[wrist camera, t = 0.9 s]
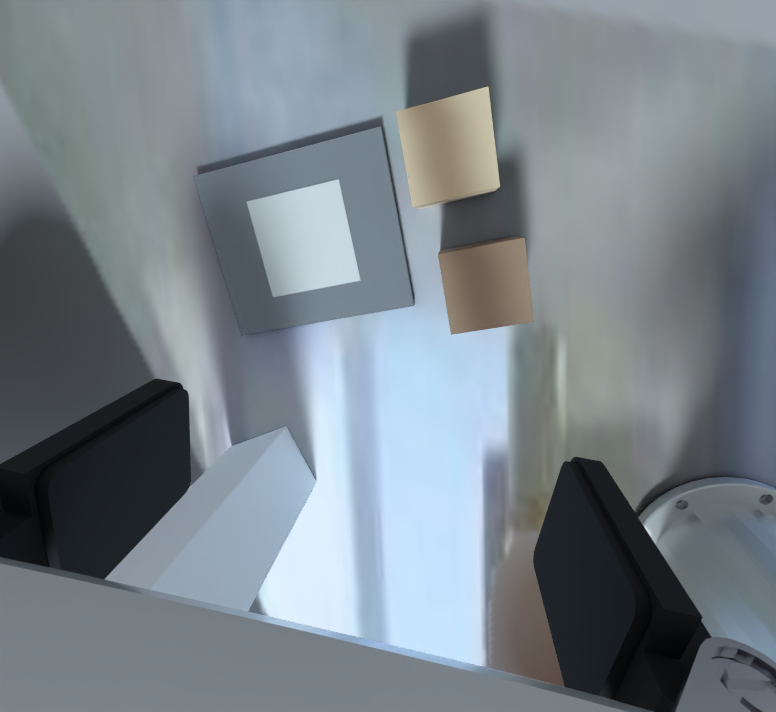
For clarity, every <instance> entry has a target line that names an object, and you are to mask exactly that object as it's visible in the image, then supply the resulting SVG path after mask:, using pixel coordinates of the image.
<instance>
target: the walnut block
mask: <svg viewBox="0 0 776 712" xmlns="http://www.w3.org/2000/svg"><path fill="white" fill-rule="evenodd" d="M438 257H439V263H440V269H441V275H442V281H443V287H444V294H445V300H446V306H447V312H448V318H449V325H450V331H451V335H452V334H458V333H464V332H471V331H477V330H484V329H490V328H497V327H503V326H509V325H516V324H522V323H529V322H534V321H533V311H532V302H531V292H530V283H529V273H528V263H527V254H526V244H525V237H518V236H509V237H504V238H499V239H494V240H489V241H484V242H479V243H473V244H468V245H463V246H458V247H453V248H448V249H443V250H440V252H439V254H438Z"/></svg>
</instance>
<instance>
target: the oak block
mask: <svg viewBox="0 0 776 712" xmlns="http://www.w3.org/2000/svg"><path fill="white" fill-rule="evenodd" d="M396 115H397V121H398V126H399V132H400V138H401V144H402V149H403V155H404V161H405V167H406V172H407V178H408V184H409V189H410V195H411V201H412V206H413V207H415V208H417V209H423V208H427V207H432V206H436V205H441V204H445V203H450V202H454V201H459V200H463V199H468V198H472V197H477V196H481V195H486V194H490V193H493V192H494V191H495V190H497V189H498V188H499V187H500V181H499V172H498V164H497V155H496V147H495V139H494V130H493V122H492V113H491V105H490V96H489V88H488V87H484V88H481V89H477V90H473V91H470V92H466V93H462V94H459V95H455V96H451V97H448V98H444V99H440V100H437V101H433V102H429V103H426V104H422V105H418V106H415V107H411V108H407V109H404V110H400V111H396Z"/></svg>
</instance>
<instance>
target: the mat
mask: <svg viewBox="0 0 776 712" xmlns="http://www.w3.org/2000/svg"><path fill="white" fill-rule="evenodd" d="M193 178H194V181H195V184H196V187H197V191H198V194H199V197H200V201H201V204H202V207H203V210H204V214H205V217H206V220H207V224H208V227H209V230H210V233H211V237H212V240H213V243H214V246H215V250H216V253H217V256H218V260H219V263H220V266H221V269H222V273H223V276H224V279H225V283H226V286H227V289H228V292H229V296H230V299H231V302H232V305H233V309H234V312H235V315H236V319H237V322H238V325H239V328H240V332H241V335H248V334H254V333H259V332H265V331H271V330H277V329H283V328H288V327H294V326H300V325H306V324H311V323H317V322H323V321H329V320H335V319H340V318H346V317H352V316H358V315H363V314H369V313H375V312H381V311H387V310H392V309H398V308H404V307H410V306H414V298H413V293H412V288H411V282H410V277H409V271H408V266H407V260H406V255H405V249H404V244H403V239H402V233H401V228H400V222H399V217H398V211H397V206H396V200H395V195H394V190H393V184H392V179H391V173H390V168H389V162H388V157H387V151H386V146H385V140H384V135H383V130H382V127H381V126H380V127H376V128H372V129H369V130H365V131H361V132H357V133H354V134H350V135H346V136H342V137H339V138H335V139H331V140H327V141H323V142H320V143H316V144H312V145H308V146H305V147H301V148H297V149H293V150H290V151H286V152H282V153H278V154H275V155H271V156H267V157H263V158H260V159H256V160H252V161H248V162H244V163H241V164H237V165H233V166H229V167H226V168H222V169H218V170H214V171H211V172H207V173H203V174H199V175H196V176H193Z"/></svg>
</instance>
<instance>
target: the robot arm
mask: <svg viewBox="0 0 776 712" xmlns="http://www.w3.org/2000/svg"><path fill="white" fill-rule="evenodd" d="M190 481H191V468H190V429H189V396H188V392H187V391H186V390H184V389H183V386H182V385H181V384H180V383H177V382H172V381H166V380H161V379H154V380H152V381H150V382H148V383H147V384H145V385H143V386H141V387H140V388H138V389H136V390H134V391H132V392H130V393H129V394H127V395H125V396H123V397H121V398H119V399H118V400H116V401H114V402H112V403H110V404H109V405H107V406H105V407H103V408H101V409H100V410H98V411H96V412H94V413H92V414H91V415H89V416H87V417H85V418H83V419H81V420H80V421H78V422H76V423H74V424H72V425H70V426H69V427H67V428H65V429H63V430H61V431H60V432H58V433H56V434H54V435H52V436H51V437H49V438H47V439H45V440H43V441H42V442H40V443H38V444H36V445H35V446H32V447H31V448H29V449H27V450H25V451H23V452H22V453H20V454H18V455H16V456H14V457H12V458H11V459H9V460H7V461H5V462H4V463H2V464H0V712H776V488H773V487H771V486H768V485H766V484H764V483H761V482H758V481H754V480H749V479H745V478H734V477H717V478H706V479H702V480H697V481H693V482H689V483H686V484H684V485H681V486H679V487H676V488H674V489H672V490H670V491H668V492H667V493H665V494H663V495H661V496H660V497H658V498H657V499H656V500H655V501H653V502H652V503H651V504H650V505H649V506H647V508H646V509H645V510H644V511H643V512H642V514H641V515H640V516H639V517H637V515H636V514H635V512H634V510H633V509H632V507H631V506H630V504H629V503H628V501H627V500H626V498H625V497H624V495H623V494H622V492H621V490H620V489H619V487H618V486H617V484H616V483H615V481H614V480H613V478H612V477H611V475H610V473H609V472H608V470H607V469H606V467H605V466H604V464H603V463H602V462H600V461H595V460H590V459H584V458H579V457H574V458H573V459H572V460H571V462H567V461H566V462H564V463H563V465H562V467H561V470H560V473H559V476H558V479H557V482H556V486H555V489H554V492H553V495H552V498H551V501H550V504H549V507H548V510H547V513H546V516H545V519H544V522H543V525H542V529H541V532H540V535H539V538H538V541H537V544H536V547H535V550H534V560H533V561H534V568H535V572H536V576H537V580H538V584H539V588H540V592H541V596H542V599H543V604H544V607H545V611H546V615H547V619H548V623H549V627H550V630H551V635H552V639H553V643H554V646H555V650H556V654H557V658H558V662H559V666H560V670H561V674H562V678H563V681H564V685H565V687H562V686H558V685H554V684H550V683H546V682H542V681H538V680H534V679H530V678H526V677H522V676H519V675H515V674H511V673H506V672H503V671H498V670H494V669H490V668H486V667H482V666H477V665H473V664H469V663H465V662H461V661H456V660H452V659H448V658H444V657H439V656H435V655H431V654H427V653H422V652H418V651H414V650H410V649H406V648H401V647H397V646H393V645H389V644H384V643H380V642H376V641H372V640H367V639H363V638H359V637H355V636H350V635H346V634H342V633H337V632H333V631H329V630H324V629H320V628H316V627H311V626H307V625H303V624H298V623H294V622H290V621H285V620H281V619H277V618H272V617H268V616H264V615H259V614H255V613H251V612H246V611H242V610H237V609H233V608H229V607H224V606H220V605H216V604H211V603H207V602H202V601H198V600H194V599H189V598H185V597H180V596H176V595H171V594H167V593H162V592H158V591H153V590H149V589H145V588H140V587H136V586H131V585H127V584H122V583H118V582H113V581H109V580H104V579H105V578H106V577H107V576H108V575H109V574H110V573H111V572H112V571H113V570H114V569H115V568H116V566H117V565H118V564H119V563H120V562H121V561H122V560H123V559H124V558H125V557H126V556H127V555H128V554H129V553H130V552H131V551H132V550H133V548H134V547H135V546H136V545H137V544H138V543H139V542H140V541H141V540H142V539H143V538H144V537H145V536H146V535H147V534H148V533H149V532H150V530H151V529H152V528H153V527H154V526H155V525H156V524H157V523H158V522H159V521H160V520H161V519H162V518H163V517H164V516H165V515H166V514H167V512H168V511H169V510H170V509H171V508H172V507H173V506H174V505H175V504H176V503H177V502H178V501H179V500H180V499H181V498H182V497H183V496H184V494H185V493H186V492H187V490H188V488H189V485H190Z"/></svg>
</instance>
